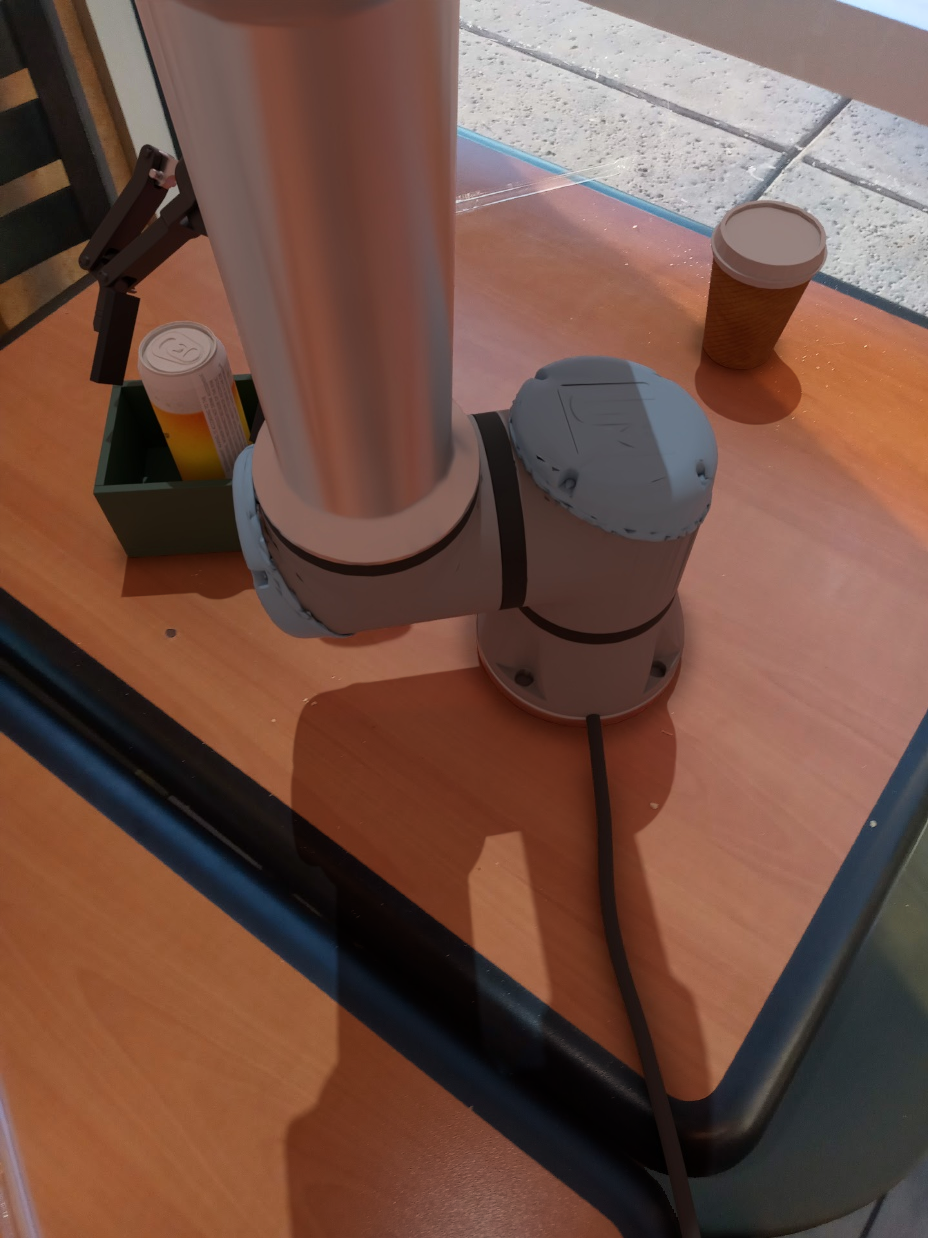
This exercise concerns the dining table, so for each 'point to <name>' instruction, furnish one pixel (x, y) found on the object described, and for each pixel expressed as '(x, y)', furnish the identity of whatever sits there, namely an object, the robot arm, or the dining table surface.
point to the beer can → (194, 399)
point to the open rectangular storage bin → (161, 482)
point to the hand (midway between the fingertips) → (182, 412)
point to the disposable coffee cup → (758, 278)
